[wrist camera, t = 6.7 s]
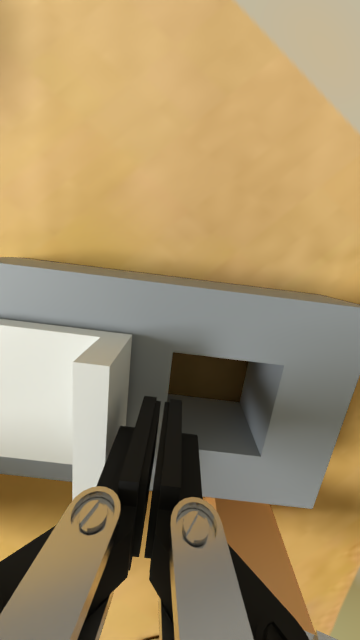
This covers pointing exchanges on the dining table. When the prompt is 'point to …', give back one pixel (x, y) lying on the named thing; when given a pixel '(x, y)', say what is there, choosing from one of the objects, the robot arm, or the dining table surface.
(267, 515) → the plug peg
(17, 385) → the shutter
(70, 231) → the dining table surface
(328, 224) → the dining table surface
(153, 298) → the socket block
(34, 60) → the dining table surface
